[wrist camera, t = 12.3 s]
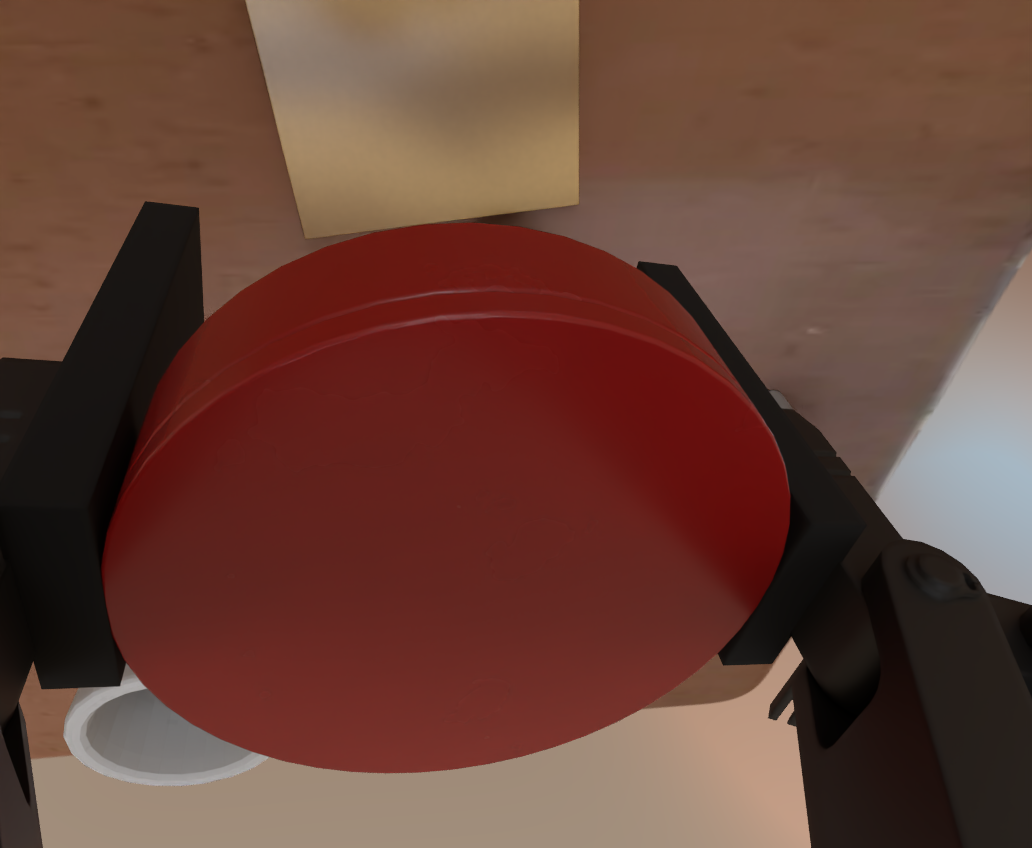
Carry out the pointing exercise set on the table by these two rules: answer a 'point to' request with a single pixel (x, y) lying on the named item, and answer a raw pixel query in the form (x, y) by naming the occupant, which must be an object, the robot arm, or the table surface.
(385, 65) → the coaster
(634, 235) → the table surface
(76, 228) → the table surface
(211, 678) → the lid
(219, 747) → the mug
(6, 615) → the robot arm
